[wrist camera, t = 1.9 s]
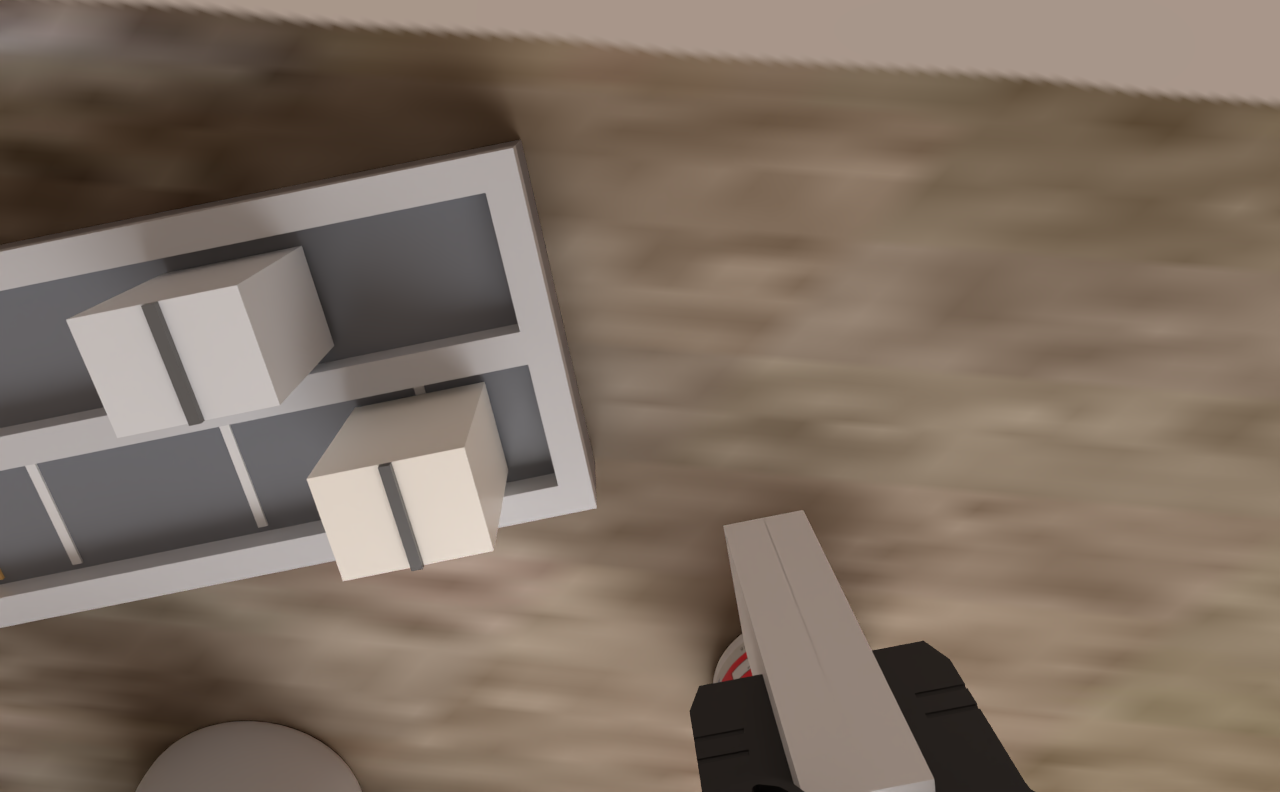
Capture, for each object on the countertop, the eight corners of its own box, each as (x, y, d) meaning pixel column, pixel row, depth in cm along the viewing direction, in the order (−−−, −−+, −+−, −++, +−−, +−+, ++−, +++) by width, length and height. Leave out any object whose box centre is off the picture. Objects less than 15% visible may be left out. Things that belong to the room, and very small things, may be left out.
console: (-166, 615, 31) (-252, 678, 27) (-348, 315, 27) (-473, 347, 24) (594, 462, 30) (596, 508, 27) (520, 139, 27) (513, 147, 23)
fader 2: (383, 495, 28) (341, 585, 23) (354, 407, 27) (304, 482, 22) (508, 470, 28) (493, 555, 23) (484, 381, 26) (463, 450, 22)
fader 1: (201, 372, 26) (113, 441, 21) (162, 273, 25) (60, 321, 20) (334, 345, 26) (277, 408, 21) (301, 245, 25) (233, 286, 20)
